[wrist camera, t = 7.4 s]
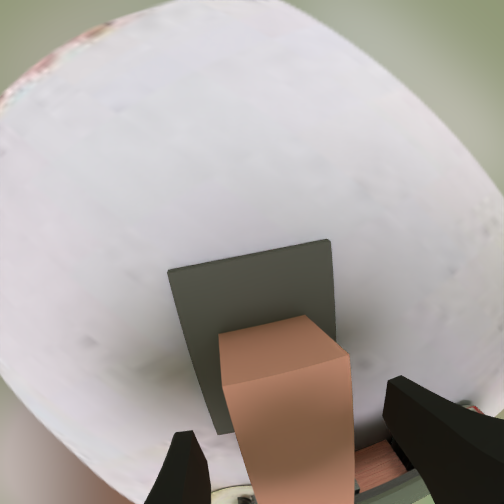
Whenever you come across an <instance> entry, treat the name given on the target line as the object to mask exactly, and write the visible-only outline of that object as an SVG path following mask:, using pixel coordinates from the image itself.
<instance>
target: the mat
mask: <svg viewBox="0 0 504 504" xmlns="http://www.w3.org/2000/svg"><path fill="white" fill-rule="evenodd" d="M167 274H168V278H169V282H170V286H171V290H172V294H173V297H174V301H175V305H176V308H177V312H178V316H179V319H180V323H181V326H182V330H183V333H184V336H185V340H186V343H187V346H188V350H189V353H190V356H191V359H192V363H193V366H194V369H195V372H196V375H197V378H198V381H199V384H200V387H201V390H202V393H203V396H204V399H205V402H206V405H207V407H208V410H209V413H210V416H211V419H212V421H213V424H214V427H215V429H216V432H217V435H222V434H228V433H233V432H235V431H234V427H233V424H232V420H231V417H230V413H229V410H228V406H227V403H226V399H225V395H224V392H223V388H222V379H221V365H220V351H219V336H218V334H221V333H226V332H231V331H235V330H240V329H245V328H250V327H254V326H259V325H263V324H268V323H272V322H277V321H281V320H285V319H289V318H294V317H298V316H302V315H306V316H307V317H308V318H309V319H310V320H311V321H312V322H314V323H315V324H316V325H317V326H318V327H319V328H320V329H321V330H322V331H324V332H325V333H326V334H327V335H328V336H329V337H330V338H331V339H333V340H334V341H335V342H336V324H335V299H334V281H333V266H332V252H331V241H329V240H328V239H325V240H320V241H315V242H310V243H305V244H300V245H295V246H289V247H284V248H279V249H274V250H269V251H264V252H259V253H254V254H249V255H243V256H238V257H233V258H228V259H223V260H218V261H213V262H207V263H202V264H197V265H192V266H187V267H182V268H177V269H171V270H168V272H167Z"/></svg>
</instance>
